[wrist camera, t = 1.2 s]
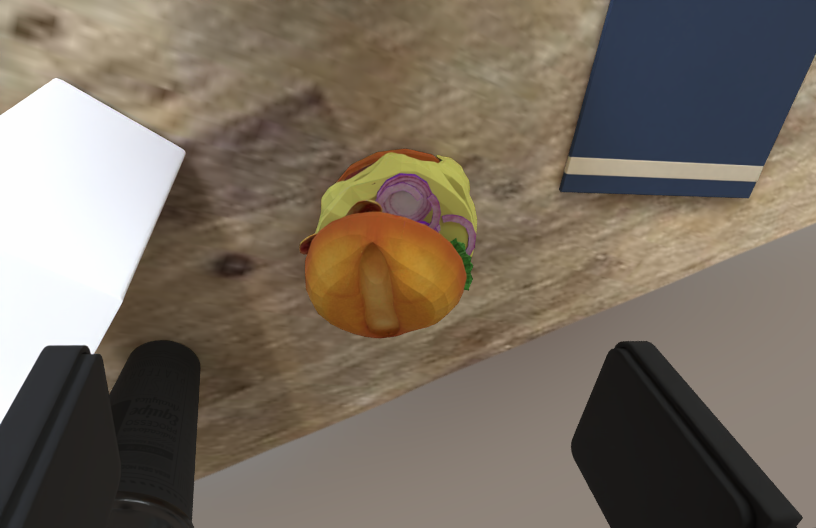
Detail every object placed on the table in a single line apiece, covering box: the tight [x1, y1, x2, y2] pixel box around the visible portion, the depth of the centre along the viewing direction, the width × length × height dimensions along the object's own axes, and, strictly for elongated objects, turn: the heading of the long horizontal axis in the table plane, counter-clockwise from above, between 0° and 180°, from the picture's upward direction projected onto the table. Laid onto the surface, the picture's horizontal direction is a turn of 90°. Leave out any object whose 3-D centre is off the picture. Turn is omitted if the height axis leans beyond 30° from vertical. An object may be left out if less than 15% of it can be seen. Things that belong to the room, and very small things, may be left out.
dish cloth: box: [559, 0, 816, 198], centre depth 34 cm, size 21×15×1 cm
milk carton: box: [0, 78, 186, 424], centre depth 23 cm, size 7×7×19 cm
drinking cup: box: [107, 340, 200, 528], centre depth 31 cm, size 8×8×20 cm
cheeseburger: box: [299, 149, 477, 338], centre depth 33 cm, size 10×11×10 cm
